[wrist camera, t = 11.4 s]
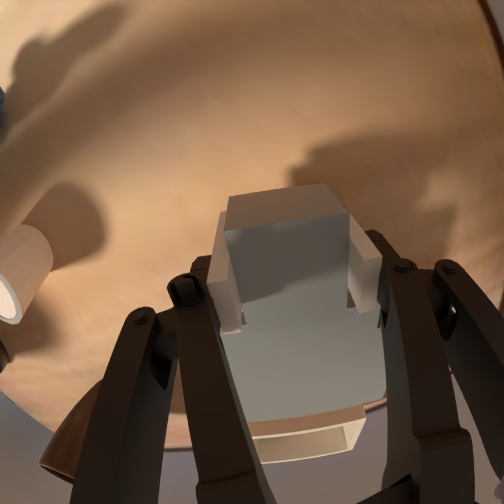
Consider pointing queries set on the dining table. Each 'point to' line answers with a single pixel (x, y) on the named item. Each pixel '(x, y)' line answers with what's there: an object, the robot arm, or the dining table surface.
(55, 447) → the plant pot
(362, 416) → the tub
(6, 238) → the beige cup
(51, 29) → the dining table surface
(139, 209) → the dining table surface
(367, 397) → the lid
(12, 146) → the dining table surface
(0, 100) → the grapes
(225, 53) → the dining table surface
